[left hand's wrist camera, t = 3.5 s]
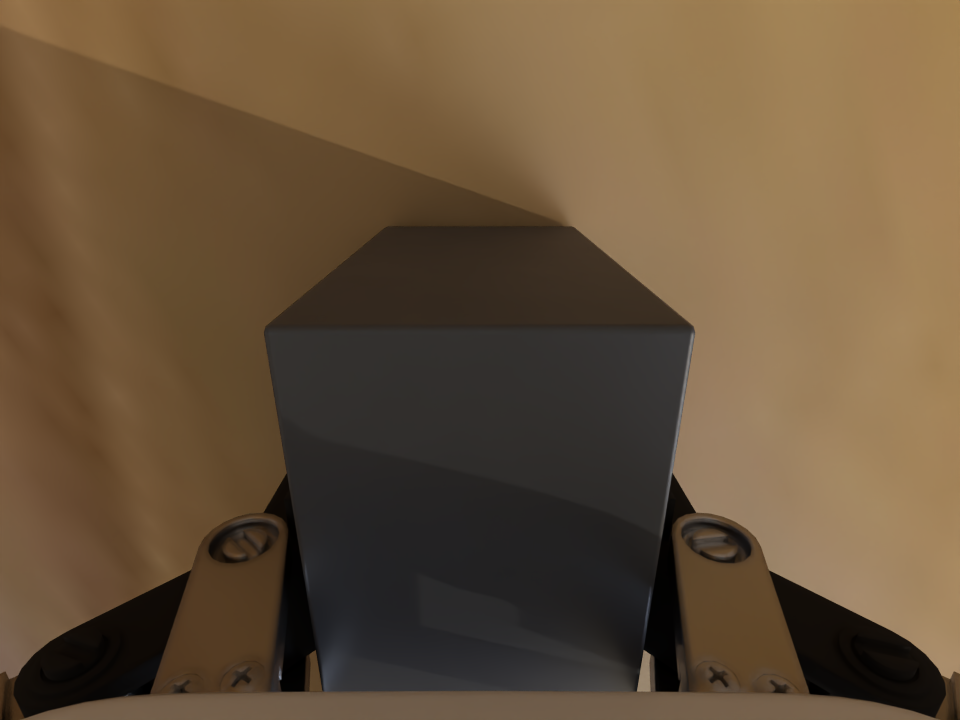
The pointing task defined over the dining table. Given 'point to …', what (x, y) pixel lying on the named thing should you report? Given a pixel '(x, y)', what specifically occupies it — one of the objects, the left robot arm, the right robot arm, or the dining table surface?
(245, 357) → the dining table surface
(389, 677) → the beam
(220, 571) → the left robot arm
